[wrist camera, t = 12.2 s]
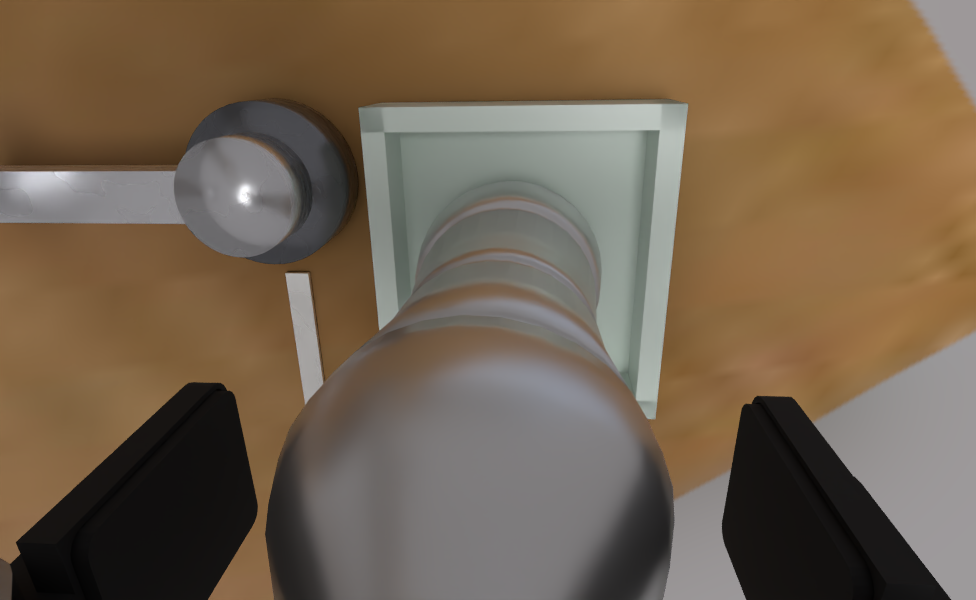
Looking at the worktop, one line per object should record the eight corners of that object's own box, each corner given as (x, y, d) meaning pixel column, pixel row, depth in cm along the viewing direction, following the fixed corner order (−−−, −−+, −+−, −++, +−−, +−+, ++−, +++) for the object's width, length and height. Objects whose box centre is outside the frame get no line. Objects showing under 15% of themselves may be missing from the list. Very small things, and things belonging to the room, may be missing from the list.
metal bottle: (411, 302, 24) (-30, 1084, 6) (460, 142, 22) (-53, 603, 3) (558, 352, 24) (606, 1259, 6) (623, 200, 22) (1079, 952, 3)
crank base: (198, 99, 23) (168, 102, 21) (350, 97, 22) (332, 100, 20) (263, 445, 28) (244, 472, 27) (384, 450, 28) (373, 477, 26)
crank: (303, 122, 20) (173, 151, 13) (320, 249, 22) (213, 336, 15) (-70, 125, 21) (-374, 154, 14) (-27, 246, 23) (-280, 325, 16)
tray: (381, 102, 22) (358, 107, 19) (669, 99, 21) (688, 103, 18) (403, 374, 26) (386, 410, 24) (642, 380, 25) (655, 419, 23)
